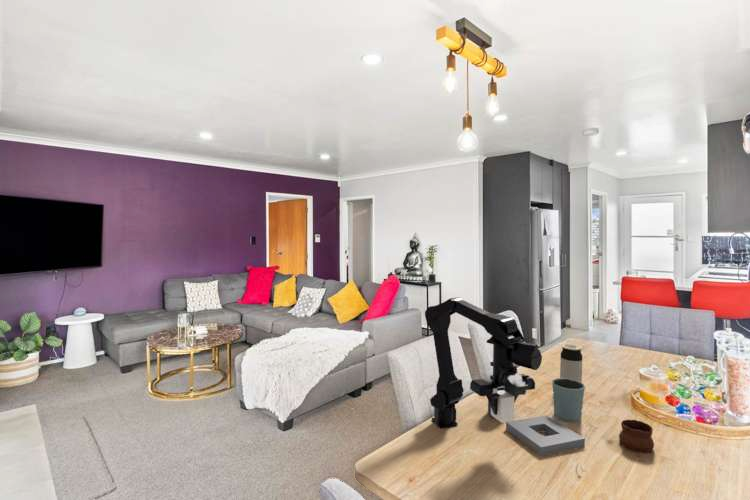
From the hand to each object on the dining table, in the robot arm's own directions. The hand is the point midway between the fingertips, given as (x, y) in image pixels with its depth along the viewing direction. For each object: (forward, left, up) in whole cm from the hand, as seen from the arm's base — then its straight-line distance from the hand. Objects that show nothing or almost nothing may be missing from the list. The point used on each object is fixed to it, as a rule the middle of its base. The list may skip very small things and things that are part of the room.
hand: (502, 413), depth 116 cm
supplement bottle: (+13, +20, -11) cm, 26 cm away
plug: (0, 0, -1) cm, 1 cm away
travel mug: (+55, +30, -11) cm, 64 cm away
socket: (+17, +2, -11) cm, 20 cm away
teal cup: (+35, +11, -11) cm, 38 cm away
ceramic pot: (+40, -10, -12) cm, 43 cm away
